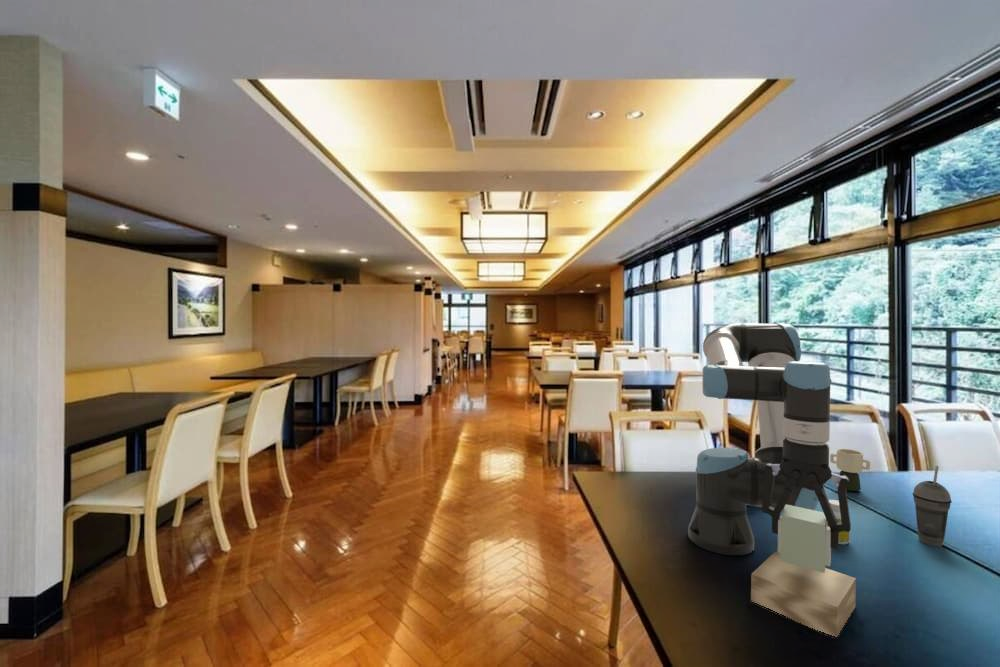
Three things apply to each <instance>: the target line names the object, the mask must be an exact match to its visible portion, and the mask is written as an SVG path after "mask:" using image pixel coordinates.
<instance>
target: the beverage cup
mask: <svg viewBox="0 0 1000 667" xmlns="http://www.w3.org/2000/svg"><path fill="white" fill-rule="evenodd" d="M938 472H939V466H938V465H935V469H934V475H933V481H932V480H924V481H921V482H919V483H917V484H916V485H915V486H914V488H913V492H912V496H913V502H914V506H915V517H916V527H917V528H916V529H917V536H918V541H920V542H921V543H922V544H925V545H928V546H933V547H938V548H939V547H943V546H944V542H945V541H944V540H945V536H946V532H947V531H946V530H947V529H946V528H947V523H948V522H947V521H948V515H949V510H950V508H951V504H952V498H951V497H952V496H951V493H950V492H949V490H948V489H947V488H946V487H945V486H944V485H942V484H941V483H939V482H937V479H938V475H939V474H938Z"/></svg>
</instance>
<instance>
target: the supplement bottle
mask: <svg viewBox="0 0 1000 667" xmlns="http://www.w3.org/2000/svg"><path fill="white" fill-rule="evenodd" d="M828 500H829V503H830V505H831V508H832V510H833V513H834V515H835V517H836V520H837V522H841V514H840V506H839V500H836V499H828ZM827 527H829V525H828V522H827ZM849 543H850V531H849V532H845V531H841V532H839V537H838V545H848V544H849Z"/></svg>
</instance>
